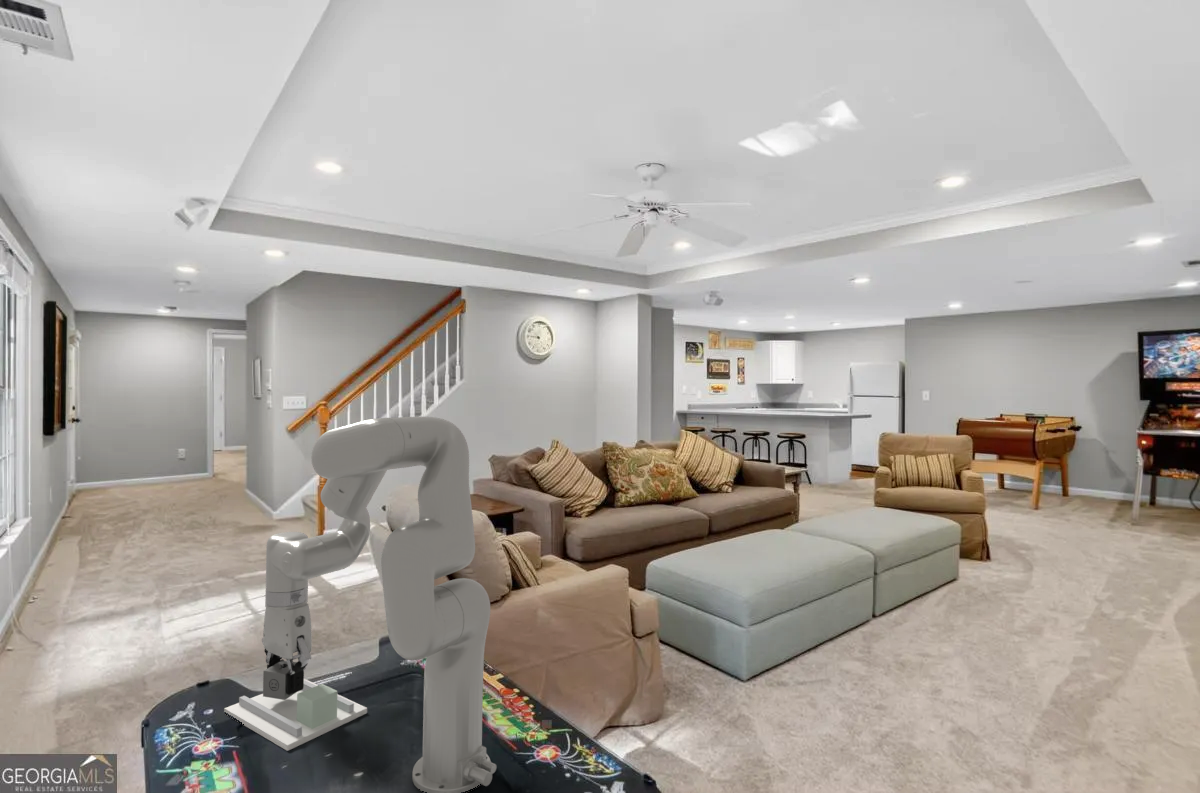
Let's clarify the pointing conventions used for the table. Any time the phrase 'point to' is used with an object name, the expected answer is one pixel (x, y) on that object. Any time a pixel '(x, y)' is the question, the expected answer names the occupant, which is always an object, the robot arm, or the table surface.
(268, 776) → the table surface
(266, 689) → the dice cube
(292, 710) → the rail board
